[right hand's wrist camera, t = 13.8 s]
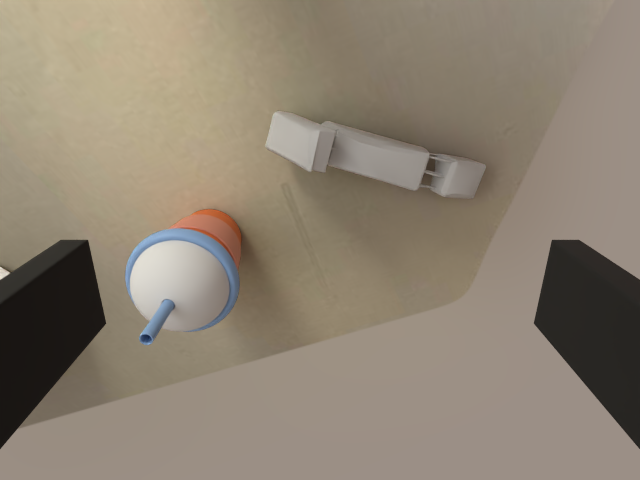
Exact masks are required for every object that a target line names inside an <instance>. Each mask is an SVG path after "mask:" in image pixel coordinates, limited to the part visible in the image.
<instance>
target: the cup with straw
mask: <svg viewBox="0 0 640 480" xmlns="http://www.w3.org/2000/svg"><path fill="white" fill-rule="evenodd" d="M240 258H241V233H240V230H239V228H238V226H237V224H236V223H235V221H234V220H233V219H232V218H231V217H229V216H228V215H227V214H225V213H223V212H220V211H217V210H212V209H206V210H200V211H197V212H195V213H193V214H192V215H190V216H188V217H185V218H183V219H181V220H180V221H178V222H177V223H175V224H174V225H173V226H171V227H170V228H168V229H166V230H162V231H159V232H156V233H154V234H152V235H150V236H148V237H147V238H145V239H144V240H143V241H141V242H140V243H139V244H138V245H137V246H136V248H135V249H134V250H133V252H132V254H131V255H130V257H129V260H128V263H127V266H126V273H125V279H126V286H127V290H128V293H129V295H130V298H131V300H132V301H133V303H134V304H135V306H136V307H137V309H138V310H139V312H140V313H141V314H142V315H143V316H144V317H145V318H146V319H147V320H148V321H150V322H149V323H148V325H147V326H146V328H145V329H144V331H143V332H142V334H141V335H140V337H139V340H140V342H141V343H142V344H144V345H149V344H151V343H152V342H153V341H154V339H155V337H156V336H157V334H158V332H159V331H160V329H161V328H163V329H166V330H171V331H183V332H191V331H199V330H203V329H206V328H209V327H211V326H213V325H215V324H217V323H218V322H220V321H221V320H222V319H224V318H225V317H226V316H227V315H228V313H229V312H230V311H231V309H232V308H233V306H234V304H235V302H236V300H237V297H238V293H239V274H238V268H239V263H240Z"/></svg>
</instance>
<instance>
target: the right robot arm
mask: <svg viewBox="0 0 640 480" xmlns="http://www.w3.org/2000/svg"><path fill="white" fill-rule="evenodd" d="M105 324H106V321H105V316H104V312H103V307H102V302H101V298H100V293H99V288H98V284H97V279H96V275H95V270H94V265H93V261H92V256H91V252H90V247H89V242H88V240H60V241H59V242H57V243H56V244H54V245H53V246H51V247H49V248H48V249H46V250H45V251H43V252H42V253H40V254H39V255H37V256H36V257H34V258H33V259H31V260H30V261H28V262H27V263H25V264H24V265H22V266H21V267H19V268H17V269H16V270H14V271H13V272H11V273H10V274H8V275H7V276H5V277H4V278H2V279H1V280H0V449H1V447H2V446H3V445H4V444H5V443H6V442H7V440H8V439H9V438H10V437H11V436H12V434H13V433H14V432H15V431H16V430H17V429H18V427H19V426H20V425H21V424H22V423H23V421H24V420H25V419H26V418H27V417H28V415H29V414H30V413H31V412H32V411H33V410H34V408H35V407H36V406H37V405H38V404H39V402H40V401H41V400H42V399H43V398H44V396H45V395H46V394H47V393H48V392H49V391H50V389H51V388H52V387H53V386H54V385H55V383H56V382H57V381H58V380H59V379H60V378H61V376H62V375H63V374H64V373H65V372H66V370H67V369H68V368H69V367H70V366H71V364H72V363H73V362H74V361H75V360H76V359H77V357H78V356H79V355H80V354H81V353H82V351H83V350H84V349H85V348H86V347H87V345H88V344H89V343H90V342H91V341H92V340H93V338H94V337H95V336H96V335H97V334H98V332H99V331H100V330H101V329H102V328H103V327H104V325H105ZM534 324H535V325H536V327H537V328H538V329H539V330H540V331H541V332H542V334H543V335H544V336H545V337H546V338H547V340H548V341H549V342H550V343H551V344H552V345H553V347H554V348H555V349H556V350H557V351H558V353H559V354H560V355H561V356H562V357H563V359H564V360H565V361H566V362H567V363H568V364H569V366H570V367H571V368H572V369H573V370H574V372H575V373H576V374H577V375H578V376H579V377H580V379H581V380H582V381H583V382H584V383H585V385H586V386H587V387H588V388H589V389H590V391H591V392H592V393H593V394H594V395H595V396H596V398H597V399H598V400H599V401H600V402H601V404H602V405H603V406H604V407H605V408H606V410H607V411H608V412H609V413H610V414H611V415H612V417H613V418H614V419H615V420H616V421H617V423H618V424H619V425H620V426H621V427H622V428H623V430H624V431H625V432H626V433H627V434H628V436H629V437H630V438H631V439H632V440H633V442H634V443H635V444H636V445H637V446H638V447H639V449H640V280H639V279H638V278H636V277H635V276H633V275H632V274H630V273H629V272H627V271H626V270H624V269H622V268H621V267H619V266H618V265H616V264H615V263H613V262H612V261H610V260H609V259H607V258H606V257H604V256H603V255H601V254H600V253H598V252H597V251H595V250H594V249H592V248H591V247H589V246H587V245H586V244H584V243H583V242H581V241H580V240H552V242H551V247H550V252H549V256H548V261H547V265H546V270H545V275H544V279H543V284H542V289H541V293H540V298H539V302H538V307H537V312H536V316H535V321H534Z"/></svg>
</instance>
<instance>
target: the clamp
mask: <svg viewBox="0 0 640 480" xmlns="http://www.w3.org/2000/svg"><path fill="white" fill-rule="evenodd" d="M266 148H267V149H268V150H269V151H272V152H274V153H275V154H277V155H279V156H281V157H283V158H285V159H287V160H289V161H291V162H292V163H294V164H296V165H298V166H300V167H302V168H303V169H305V170H307V171H309V172H311V171H312V170H313V171H317V172H321V173H325V171H326V167H327V165H328V166H331V167H335V168H338V169H341V170H344V171H348V172H351V173H354V174H358V175H361V176H365V177H369V178H372V179H376V180H379V181H383V182H386V183H389V184H393V185H396V186H399V187H402V188H406V189H409V190H415V191H416V190H417V189H419V188H427V187H428V188H430V190H431V191H433V192H435V193H437V194H439V195H441V196H443V197H447V198H464V199H473V198H474V196H475V193H476V191H477V188H478V186H479V183H480V181H481V178H482V176H483V174H484V171H485V169H486V165H485V164H482V163H480V162H477V161H474V160H472V159H469V158H464V157H458V156H452V155H446V154H434V153H429V152H428V151H427V149H425V148H424V147H421V146H417V145H413V144H410V143H406V142H402V141H399V140H395V139H391V138H388V137H384V136H381V135H377V134H373V133H370V132H366V131H363V130H359V129H356V128H352V127H348V126H345V125H341V124H338V123H334V122H331V121H325V122H323V123H322V124H321V125H320V124H318V123H316V122H313V121H311V120H308V119H306V118H304V117H301V116H299V115H296V114H294V113H290V112H284V111H276V112H275V113H274V114H273V117H272V121H271V125H270V129H269V133H268V138H267V142H266ZM430 155H434V156H436V157H433V156H430ZM429 158H432V159H435V171H434V172H433V171H429V170H425V169H426V167H427V164H428V161H429ZM424 173H426V174H429V175H432V176H433V178H432V181H431V184H430V186H428V185H424V184H421V181H422V178H423V175H424ZM420 185H421V186H420Z"/></svg>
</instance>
